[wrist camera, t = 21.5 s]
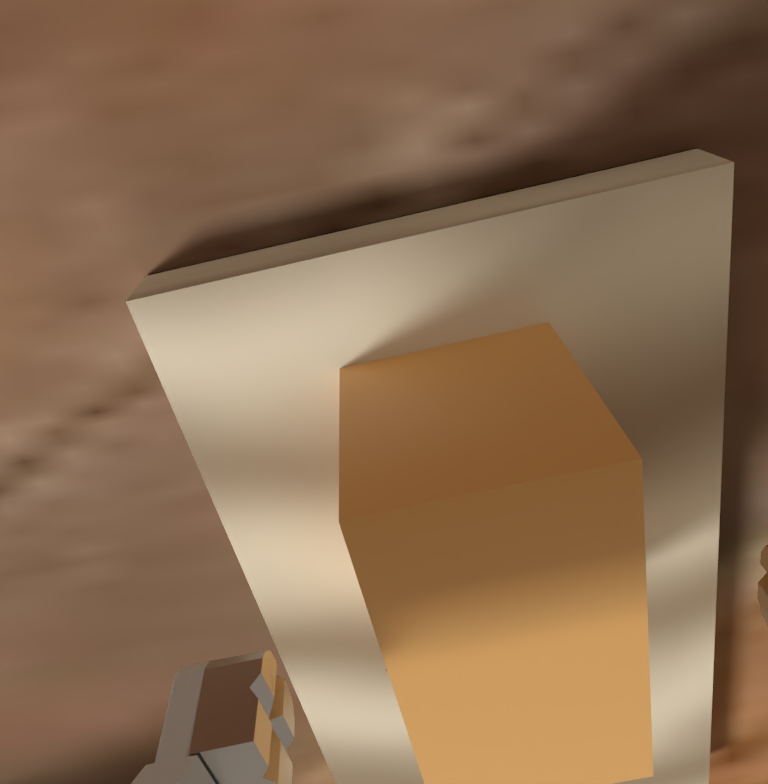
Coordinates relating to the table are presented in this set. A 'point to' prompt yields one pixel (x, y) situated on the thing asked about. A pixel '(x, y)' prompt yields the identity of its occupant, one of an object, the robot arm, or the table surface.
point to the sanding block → (501, 559)
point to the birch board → (441, 327)
